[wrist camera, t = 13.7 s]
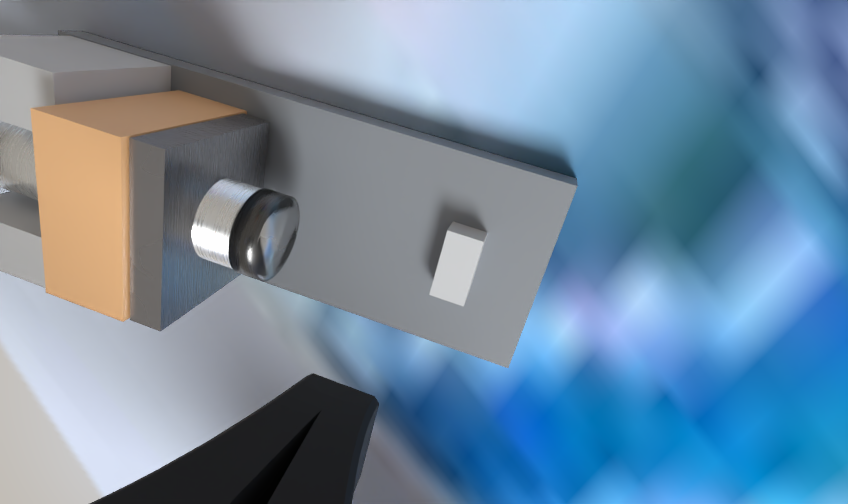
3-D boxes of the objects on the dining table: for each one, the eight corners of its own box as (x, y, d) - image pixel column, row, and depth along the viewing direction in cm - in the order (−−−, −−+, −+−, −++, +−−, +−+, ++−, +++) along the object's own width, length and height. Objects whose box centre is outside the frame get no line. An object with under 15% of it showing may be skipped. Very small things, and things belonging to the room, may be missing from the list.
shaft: (326, 138, 17) (238, 173, 12) (303, 281, 19) (222, 355, 15) (3, 39, 18) (-178, 38, 14) (18, 181, 21) (-134, 220, 16)
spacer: (173, 231, 20) (46, 292, 15) (179, 90, 18) (29, 107, 13) (234, 252, 20) (123, 321, 15) (246, 110, 17) (120, 137, 12)
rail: (576, 178, 17) (581, 235, 12) (510, 353, 19) (492, 458, 15) (82, 31, 19) (-89, 26, 14) (89, 205, 22) (-50, 253, 17)
